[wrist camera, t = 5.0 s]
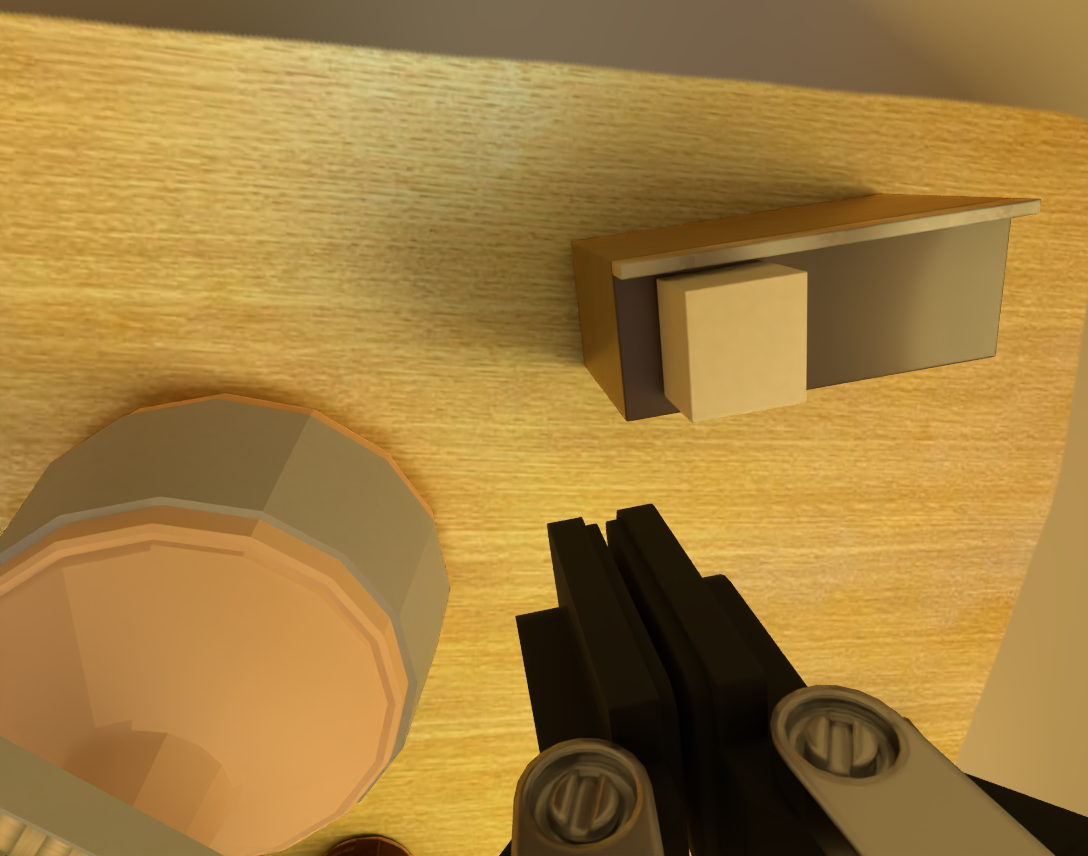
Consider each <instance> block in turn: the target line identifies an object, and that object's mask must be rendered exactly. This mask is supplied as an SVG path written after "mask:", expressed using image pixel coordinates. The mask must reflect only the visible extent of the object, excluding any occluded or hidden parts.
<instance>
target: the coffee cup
mask: <svg viewBox="0 0 1088 856" xmlns="http://www.w3.org/2000/svg"><path fill="white" fill-rule="evenodd" d="M324 856H411V854H410V853H409V852H408V851H407V849H405V848H404V847H403V846H402V845H400V844H399V843H396V842H395V841H393V840H389V839H386V838H383V837H363V838H356V839H351V840H348V841H345V842H343V843H341V844H339V845H337V846H336V847H334V848H333V849H331V850H330V851H329V852H327V853H326V854H325V855H324Z"/></svg>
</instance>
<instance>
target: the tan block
mask: <svg viewBox="0 0 1088 856" xmlns="http://www.w3.org/2000/svg"><path fill="white" fill-rule="evenodd" d="M657 294H658V308H659V322H660V336H661V350H662V364H663V378H664V392H665V397H666V398H667V399H668V400H669V401H670V402H671V403H672V404H673V405H674V406H675V407H676V408H677V409H678V410H679V411H680V412H681V413H682V414H683V415H684V416H686V417H687V418H688V419H689V420H690V421H691V422H692V423H696V422H702V421H707V420H713V419H719V418H724V417H730V416H735V415H741V414H747V413H752V412H758V411H763V410H769V409H775V408H780V407H786V406H791V405H797V404H802V403H806V366H807V272H806V271H802V270H798V269H794V268H790V267H787V266H783V265H779V264H775V263H771V262H767V261H761V262H754V263H748V264H742V265H736V266H729V267H723V268H717V269H711V270H704V271H698V272H692V273H686V274H679V275H673V276H667V277H661V278H657Z"/></svg>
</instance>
